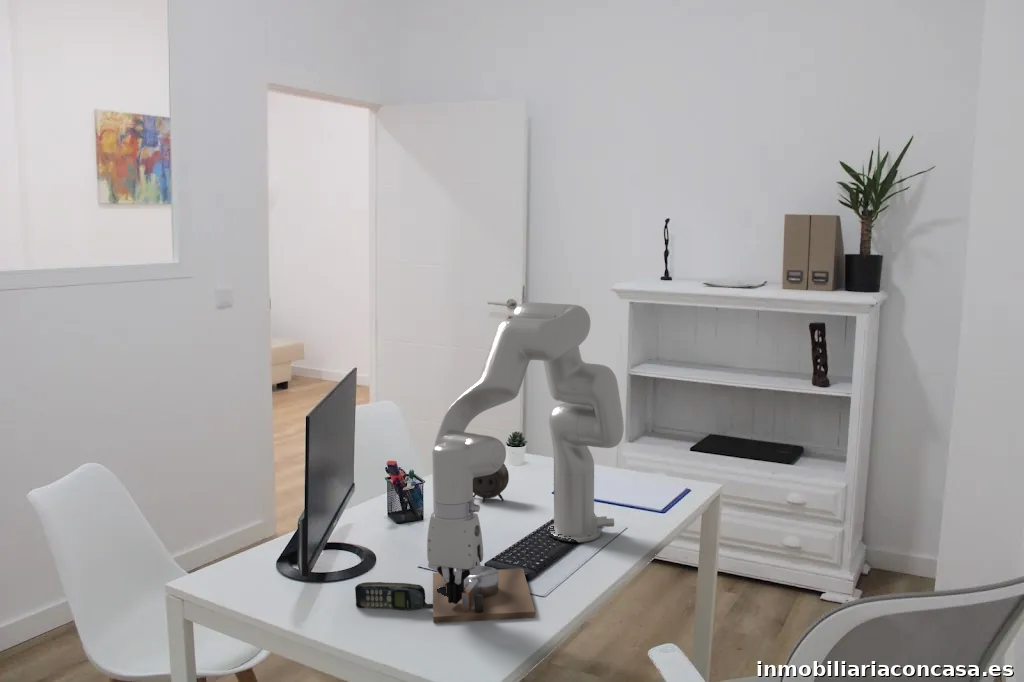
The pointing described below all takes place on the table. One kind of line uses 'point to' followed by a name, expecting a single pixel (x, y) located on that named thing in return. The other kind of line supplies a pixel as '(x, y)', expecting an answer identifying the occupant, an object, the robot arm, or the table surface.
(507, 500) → the table surface
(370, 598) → the mobile phone
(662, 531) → the table surface
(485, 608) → the plinth
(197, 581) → the table surface
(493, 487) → the alarm clock
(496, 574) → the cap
